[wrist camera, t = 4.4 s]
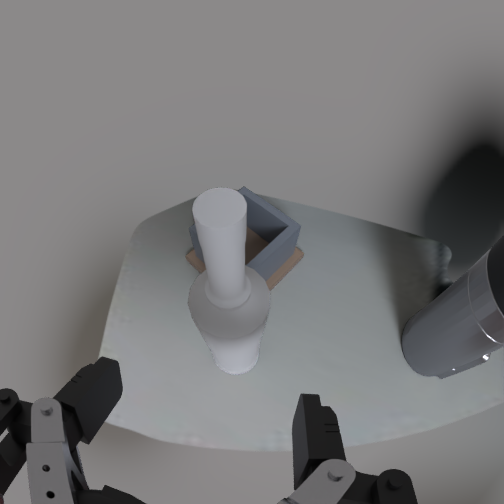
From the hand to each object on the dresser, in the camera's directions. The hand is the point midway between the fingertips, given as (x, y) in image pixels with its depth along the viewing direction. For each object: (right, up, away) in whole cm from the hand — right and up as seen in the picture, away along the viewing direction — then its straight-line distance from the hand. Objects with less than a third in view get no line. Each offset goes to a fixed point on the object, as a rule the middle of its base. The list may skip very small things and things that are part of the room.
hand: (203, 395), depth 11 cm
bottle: (0, -6, +21) cm, 22 cm away
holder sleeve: (+1, +5, +28) cm, 28 cm away
